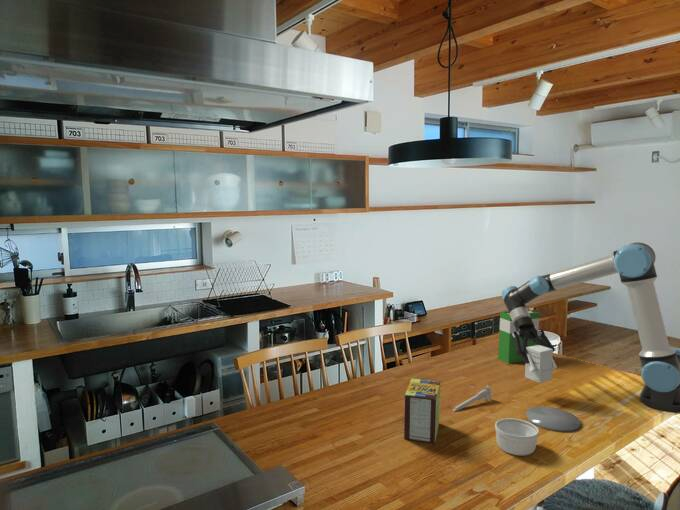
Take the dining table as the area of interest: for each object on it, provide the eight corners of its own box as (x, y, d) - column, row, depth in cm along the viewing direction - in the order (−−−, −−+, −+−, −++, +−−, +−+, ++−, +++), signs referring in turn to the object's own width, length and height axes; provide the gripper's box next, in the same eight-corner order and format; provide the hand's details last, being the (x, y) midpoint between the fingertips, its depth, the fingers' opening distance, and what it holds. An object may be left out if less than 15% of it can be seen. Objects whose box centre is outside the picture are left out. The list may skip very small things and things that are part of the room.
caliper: (488, 399, 194) (489, 384, 194) (490, 400, 193) (491, 385, 193) (452, 411, 183) (452, 395, 182) (454, 412, 182) (454, 396, 182)
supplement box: (536, 374, 200) (538, 344, 198) (552, 379, 193) (553, 349, 192) (524, 377, 196) (525, 346, 195) (539, 383, 190) (540, 351, 188)
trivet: (585, 418, 178) (585, 415, 178) (573, 437, 164) (573, 434, 163) (534, 405, 189) (534, 402, 188) (519, 421, 174) (519, 419, 174)
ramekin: (503, 433, 166) (504, 414, 165) (543, 446, 158) (544, 425, 157) (487, 448, 156) (488, 428, 155) (529, 463, 147) (530, 441, 147)
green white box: (526, 355, 249) (528, 309, 246) (536, 359, 242) (539, 312, 240) (498, 358, 243) (500, 311, 240) (508, 363, 236) (510, 315, 233)
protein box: (439, 423, 173) (440, 381, 171) (435, 444, 158) (436, 398, 157) (410, 419, 176) (411, 377, 174) (403, 439, 161) (404, 394, 159)
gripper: (540, 323, 210) (563, 371, 196) (495, 326, 205) (514, 375, 192) (549, 314, 204) (572, 363, 190) (502, 316, 200) (523, 367, 186)
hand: (543, 369), depth 191 cm, fingers closed on supplement box, 9 cm apart
